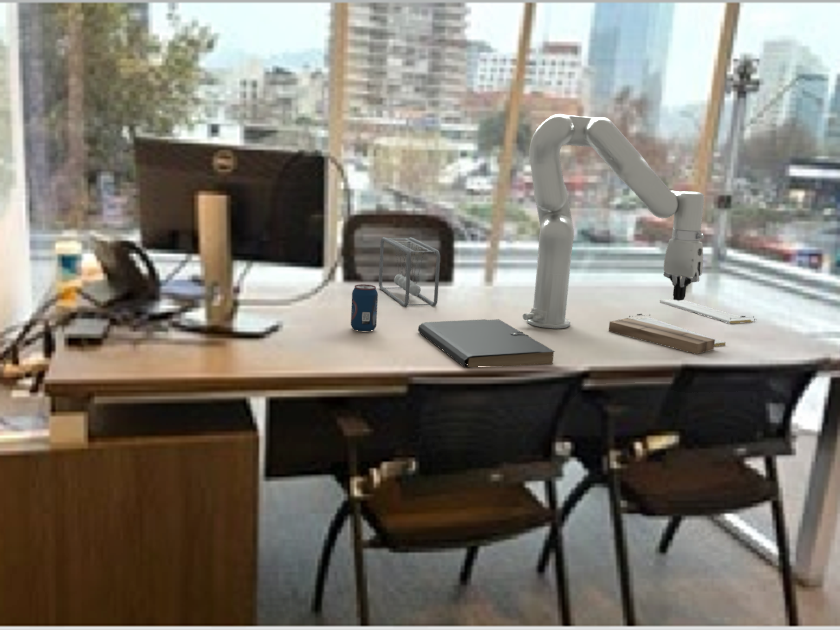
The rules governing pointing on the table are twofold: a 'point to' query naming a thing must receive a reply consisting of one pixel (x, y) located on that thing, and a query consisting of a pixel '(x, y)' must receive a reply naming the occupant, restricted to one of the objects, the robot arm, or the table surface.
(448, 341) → the dark grey book
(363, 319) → the soda can
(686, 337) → the plank row
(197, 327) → the table surface
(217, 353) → the table surface
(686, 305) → the baseboard molding
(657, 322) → the baseboard
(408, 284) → the newton's cradle
